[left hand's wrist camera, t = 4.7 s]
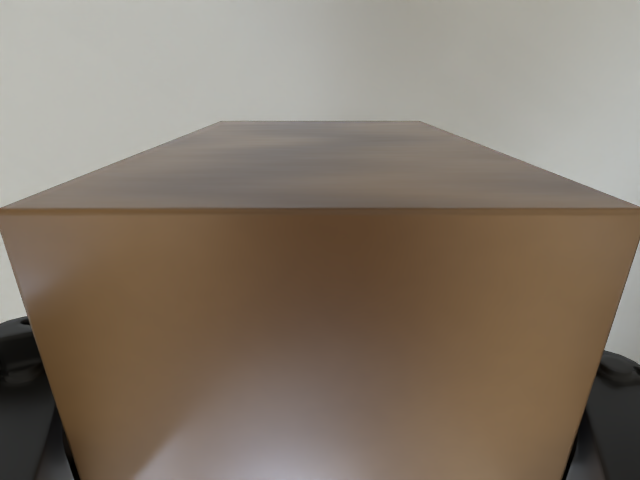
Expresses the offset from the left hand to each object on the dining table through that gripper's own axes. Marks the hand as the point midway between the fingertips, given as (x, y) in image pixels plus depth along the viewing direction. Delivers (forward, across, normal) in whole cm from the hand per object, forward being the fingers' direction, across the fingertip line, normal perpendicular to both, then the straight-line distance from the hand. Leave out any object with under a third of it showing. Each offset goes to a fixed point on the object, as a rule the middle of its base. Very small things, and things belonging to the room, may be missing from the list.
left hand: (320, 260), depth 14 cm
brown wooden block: (+3, 0, 0) cm, 3 cm away
